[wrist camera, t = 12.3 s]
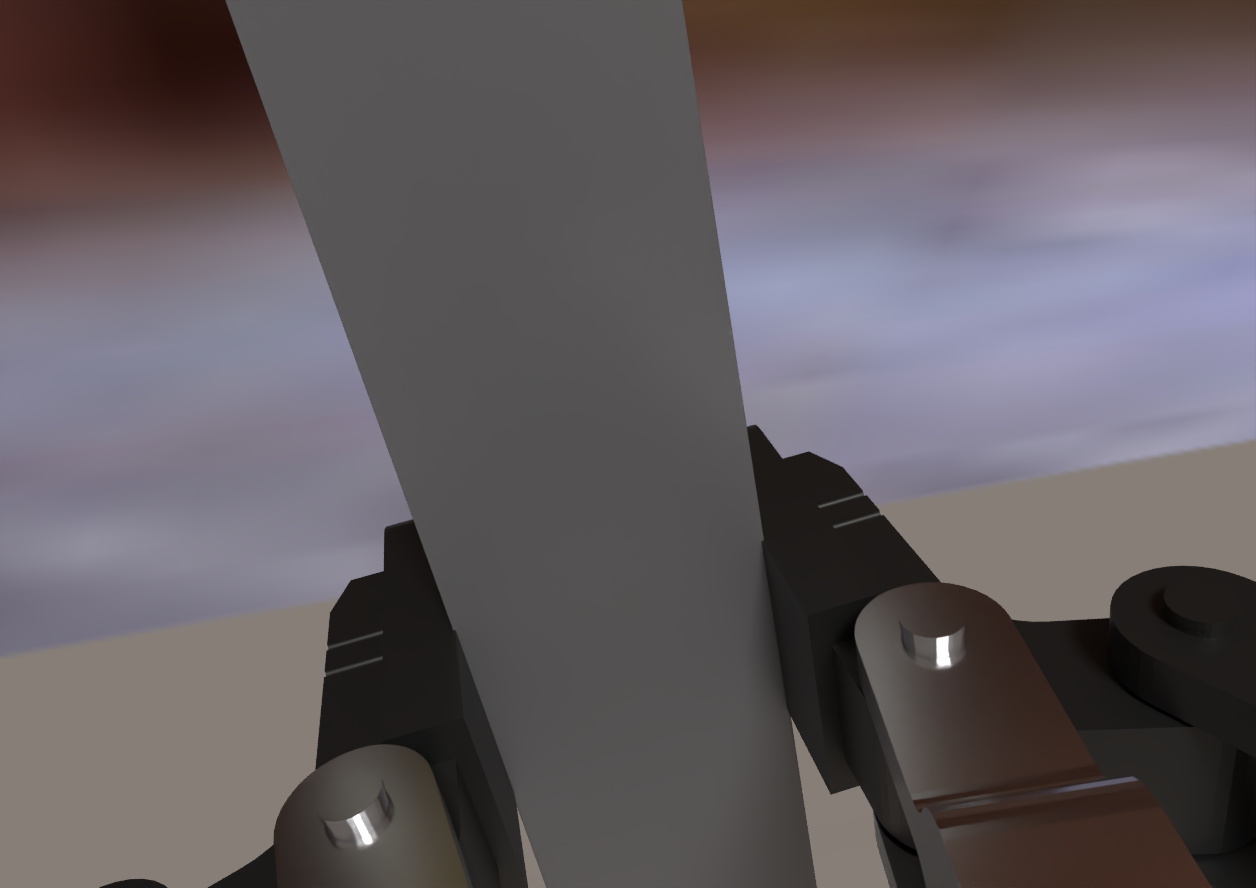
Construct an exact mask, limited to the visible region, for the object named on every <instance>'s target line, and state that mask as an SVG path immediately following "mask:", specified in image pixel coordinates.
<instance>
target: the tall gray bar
mask: <svg viewBox="0 0 1256 888" xmlns="http://www.w3.org/2000/svg"><path fill="white" fill-rule="evenodd" d="M226 3H227V6H228V9H229V11H230V14H231V17H232V20H233V22H234V25H235V28H236V31H237V33H238V36H239V39H240V42H241V45H242V47H243V50H244V53H245V56H246V58H247V61H248V64H249V67H250V69H251V72H252V75H253V78H254V80H255V83H256V86H257V89H258V92H259V94H260V97H261V100H262V103H263V105H264V108H265V111H266V114H267V116H268V119H269V122H270V125H271V127H272V130H273V133H274V136H275V139H276V141H277V144H278V147H279V150H280V152H281V155H282V158H283V161H284V163H285V166H286V169H287V172H288V174H289V177H290V180H291V183H292V186H293V188H294V191H295V194H296V197H297V199H298V202H299V205H300V208H301V210H302V213H303V216H304V219H305V221H306V224H307V227H308V230H309V233H310V235H311V238H312V241H313V244H314V246H315V249H316V252H317V255H318V257H319V260H320V263H321V266H322V268H323V271H324V274H325V277H326V280H327V282H328V285H329V288H330V291H331V293H332V296H333V299H334V302H335V304H336V307H337V310H338V313H339V315H340V318H341V321H342V324H343V327H344V329H345V332H346V335H347V338H348V340H349V343H350V346H351V349H352V351H353V354H354V357H355V360H356V363H357V365H358V368H359V371H360V374H361V376H362V379H363V382H364V385H365V387H366V390H367V393H368V396H369V398H370V401H371V404H372V407H373V410H374V412H375V415H376V418H377V421H378V423H379V426H380V429H381V432H382V434H383V437H384V440H385V443H386V445H387V448H388V451H389V454H390V457H391V459H392V462H393V465H394V468H395V470H396V473H397V476H398V479H399V481H400V484H401V487H402V490H403V492H404V495H405V498H406V501H407V504H408V506H409V509H410V512H411V515H412V517H413V520H414V523H415V526H416V528H417V531H418V534H419V537H420V539H421V542H422V545H423V548H424V551H425V553H426V556H427V559H428V562H429V564H430V567H431V570H432V573H433V575H434V578H435V581H436V584H437V586H438V589H439V592H440V595H441V598H442V600H443V603H444V606H445V609H446V611H447V614H448V617H449V620H450V622H451V625H452V628H453V630H456V632H457V635H458V638H459V640H460V643H461V646H462V649H463V652H464V654H465V657H466V660H467V663H468V665H469V668H470V671H471V674H472V677H473V679H474V682H475V685H476V688H477V690H478V693H479V696H480V699H481V702H482V704H483V707H484V710H485V713H486V715H487V718H488V721H489V724H490V727H491V729H492V732H493V735H494V738H495V740H496V743H497V746H498V749H499V752H500V754H501V757H502V760H503V763H504V765H505V768H506V771H507V774H508V777H509V779H510V782H511V785H512V788H513V790H514V793H515V799H516V805H517V808H518V810H519V813H520V816H521V819H522V821H523V824H524V827H525V830H526V833H527V835H528V838H529V840H530V843H531V846H532V849H533V852H534V855H535V857H536V860H537V863H538V866H539V868H540V871H541V874H542V877H543V879H544V882H545V885H546V888H817V886H816V880H815V873H814V866H813V860H812V854H811V847H810V840H809V834H808V827H807V820H806V814H805V807H804V801H803V794H802V788H801V781H800V775H799V768H798V761H797V755H796V748H795V741H794V735H793V728H792V722H791V716H790V714H789V712H788V710H787V703H786V696H785V690H784V683H783V677H782V670H781V664H780V657H779V651H778V644H777V638H776V631H775V625H774V618H773V612H772V605H771V599H770V592H769V586H768V579H767V573H766V566H765V560H764V553H763V547H762V541H763V540H764V537H763V531H762V524H761V518H760V511H759V505H758V498H757V491H756V485H755V478H754V472H753V465H752V459H751V452H750V445H749V439H748V432H747V426H746V419H745V413H744V406H743V399H742V393H741V386H740V380H739V373H738V367H737V360H736V353H735V347H734V340H733V334H732V327H731V320H730V314H729V307H728V301H727V294H726V288H725V281H724V274H723V268H722V261H721V255H720V248H719V242H718V235H717V228H716V222H715V215H714V209H713V202H712V196H711V189H710V182H709V176H708V169H707V163H706V156H705V149H704V143H703V136H702V130H701V123H700V117H699V110H698V103H697V97H696V90H695V84H694V77H693V71H692V64H691V57H690V51H689V44H688V38H687V31H686V25H685V18H684V11H683V5H682V0H226Z"/></svg>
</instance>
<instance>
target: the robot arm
mask: <svg viewBox="0 0 1256 888" xmlns="http://www.w3.org/2000/svg"><path fill="white" fill-rule="evenodd" d="M747 432H748V439H749V445H750V452H751V459H752V465H753V472H754V478H755V485H756V491H757V498H758V505H759V511H760V518H761V524H762V531H763V537H764V540H763V541H762V547H763V553H764V560H765V566H766V573H767V579H768V586H769V592H770V599H771V605H772V612H773V618H774V625H775V631H776V638H777V644H778V651H779V657H780V664H781V670H782V677H783V683H784V690H785V696H786V703H787V710H788V712H789V714H790V716H791V717H792V719H793V721H794V723H795V725H796V727H797V729H798V731H799V733H800V735H801V737H802V739H803V741H804V743H805V745H806V747H807V748H808V751H809V753H810V755H811V756H812V758H813V760H814V762H815V764H816V766H817V768H818V770H819V772H820V774H821V776H822V778H823V779H824V782H825V784H826V786H827V788H828V790H829V791H830V794H834V793H837V792H841V791H844V790H847V789H850V788H853V787H856V786H860V787H861V789H862V790H863V792H864V794H865V796H866V798H867V799H868V801H869V803H870V805H871V807H872V809H873V817H874V827H875V836H876V841H877V846H878V849H879V853H880V856H881V859H882V863H883V866H884V869H885V873H886V876H887V879H888V883H889V885H890V888H1256V582H1255V581H1252V580H1250V579H1247V578H1245V577H1241V576H1239V575H1236V574H1233V573H1229V572H1226V571H1221V570H1217V569H1212V568H1205V567H1197V566H1170V567H1162V568H1156V569H1152V570H1148V571H1145V572H1142V573H1140V574H1138V575H1135V576H1133V577H1131V578H1129V579H1128V580H1126V581H1125V582H1123V583H1122V584H1121V585H1120V587H1119V588H1118V589H1117V590H1116V591H1115V593H1114V595H1113V597H1112V601H1111V605H1110V618H1105V619H1087V620H1069V621H1051V622H1029V621H1017V620H1012V619H1011V618H1010V616H1009V615H1008V614H1007V612H1006V611H1005V610H1004V609H1003V608H1002V607H1001V606H1000V605H999V604H998V603H997V602H996V601H994V600H992V599H991V598H990V597H988V596H987V595H984V594H982V593H980V592H978V591H976V590H973V589H970V588H967V587H964V586H960V585H955V584H949V583H941V582H940V581H939V580H938V578H937V577H936V576H935V575H934V574H933V573H932V571H931V570H930V569H929V568H928V567H927V565H926V564H925V563H924V562H923V561H922V560H921V558H920V557H919V556H918V555H917V554H916V553H915V551H914V550H913V549H912V548H911V547H910V546H909V544H908V543H907V542H906V541H905V540H904V539H903V537H902V536H901V535H900V534H899V533H898V532H897V530H896V529H895V528H894V527H893V526H892V524H890V522H889V521H888V520H887V519H886V517H885V516H884V515H882V516H881V515H880V512H879V509H878V508H877V507H876V506H875V505H874V503H873V502H872V501H871V500H870V499H869V497H868V496H867V495H866V496H864V494H863V490H862V489H861V488H860V487H859V486H858V485H857V483H856V482H855V481H854V480H853V479H852V478H851V476H850V475H849V474H848V473H847V472H846V471H845V469H844V468H843V467H841V466H839V465H837V464H835V463H833V462H830V461H828V460H826V459H824V458H822V457H820V456H817V455H815V454H813V453H811V452H805V453H802V454H798V455H795V456H791V457H788V458H784V459H782V457H781V456H780V455H779V453H778V452H777V451H776V449H775V448H774V447H773V445H772V444H771V443H770V441H769V440H768V439H767V437H766V436H765V435H764V433H763V432H762V431H761V429H760V428H759V427H758V426H757V425H751V426H748V427H747ZM327 645H328V649H329V650H327V652H326V663H325V673H326V677H324V684H323V695H322V705H321V717H320V727H319V737H318V748H317V759H316V770H315V771H314V772H313V773H311V774H310V775H309V776H308V777H307V778H305V779H304V780H303V781H302V782H301V783H300V784H299V785H298V786H297V788H296V789H295V790H294V791H293V792H292V794H291V795H290V796H289V797H288V799H287V801H286V802H285V804H284V805H283V807H282V809H281V811H280V813H279V816H278V818H277V821H276V825H275V829H274V844H273V846H271V847H270V848H269V849H268V850H267V851H265V852H264V853H263V854H262V855H260V856H259V857H258V858H256V859H255V860H253V861H252V862H250V863H249V864H247V865H245V866H244V867H243V868H241V869H239V870H237V871H236V872H234V873H232V874H231V875H229V876H227V877H225V878H223V879H222V880H220V881H218V882H217V883H215V884H213V885H211V886H210V887H208V888H528V884H527V877H526V870H525V863H524V857H523V849H522V842H521V835H520V828H519V821H518V814H517V806H516V799H515V793H514V790H513V788H512V785H511V782H510V779H509V777H508V774H507V771H506V768H505V765H504V763H503V760H502V757H501V754H500V752H499V749H498V746H497V743H496V740H495V738H494V735H493V732H492V729H491V727H490V724H489V721H488V718H487V715H486V713H485V710H484V707H483V704H482V702H481V699H480V696H479V693H478V690H477V688H476V685H475V682H474V679H473V677H472V674H471V671H470V668H469V665H468V663H467V660H466V657H465V654H464V652H463V649H462V646H461V643H460V640H459V638H458V635H457V632H456V630H453V628H452V625H451V622H450V620H449V617H448V614H447V611H446V609H445V606H444V603H443V600H442V598H441V595H440V592H439V589H438V586H437V584H436V581H435V578H434V575H433V573H432V570H431V567H430V564H429V562H428V559H427V556H426V553H425V551H424V548H423V545H422V542H421V539H420V537H419V534H418V531H417V528H416V526H415V523H414V520H413V519H412V520H409V521H405V522H401V523H398V524H394V525H391V526H387V527H386V528H385V532H384V571H383V572H379V573H376V574H372V575H369V576H365V577H361V578H358V579H354V580H351V581H350V583H349V584H348V586H347V587H346V589H345V590H344V592H343V593H342V595H341V597H340V598H339V600H338V601H337V603H336V604H335V606H334V608H333V609H332V611H331V612H330V620H329V632H328V641H327ZM100 888H167V887H166V886H165V885H163V884H160V883H158V882H156V881H153V880H146V879H130V880H124V881H119V882H114V883H112V884H108V885H105V886H102V887H100Z"/></svg>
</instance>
